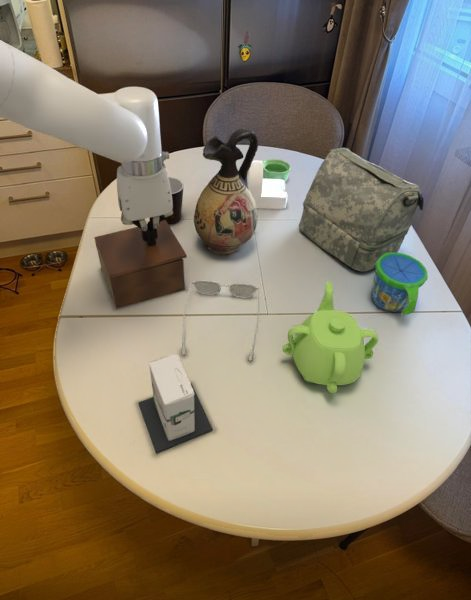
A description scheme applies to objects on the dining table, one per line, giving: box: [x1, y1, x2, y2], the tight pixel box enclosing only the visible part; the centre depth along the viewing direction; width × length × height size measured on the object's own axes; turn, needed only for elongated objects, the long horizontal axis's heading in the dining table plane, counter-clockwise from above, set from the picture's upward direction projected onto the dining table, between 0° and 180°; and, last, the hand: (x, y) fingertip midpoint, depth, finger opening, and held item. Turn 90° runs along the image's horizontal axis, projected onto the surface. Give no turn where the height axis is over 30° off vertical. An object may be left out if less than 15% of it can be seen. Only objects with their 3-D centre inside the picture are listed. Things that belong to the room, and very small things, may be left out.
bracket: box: [247, 159, 288, 210], centre depth 119 cm, size 19×10×11 cm, turn 91°
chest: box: [94, 241, 186, 310], centre depth 93 cm, size 16×14×9 cm
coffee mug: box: [162, 176, 185, 226], centre depth 110 cm, size 12×9×10 cm
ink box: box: [148, 352, 195, 441], centre depth 68 cm, size 9×5×12 cm, turn 25°
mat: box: [138, 382, 214, 454], centre depth 72 cm, size 10×10×1 cm
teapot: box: [282, 280, 379, 394], centre depth 78 cm, size 16×14×13 cm
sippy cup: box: [371, 252, 429, 316], centre depth 92 cm, size 16×10×10 cm
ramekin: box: [263, 158, 291, 183], centre depth 131 cm, size 9×9×4 cm
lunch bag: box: [298, 147, 425, 272], centre depth 103 cm, size 26×18×22 cm
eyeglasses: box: [181, 279, 261, 362], centre depth 87 cm, size 15×18×4 cm
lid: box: [93, 220, 188, 278], centre depth 90 cm, size 16×14×1 cm
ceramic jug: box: [193, 128, 259, 255], centre depth 97 cm, size 17×15×30 cm
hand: (150, 241), depth 90 cm, fingers closed
